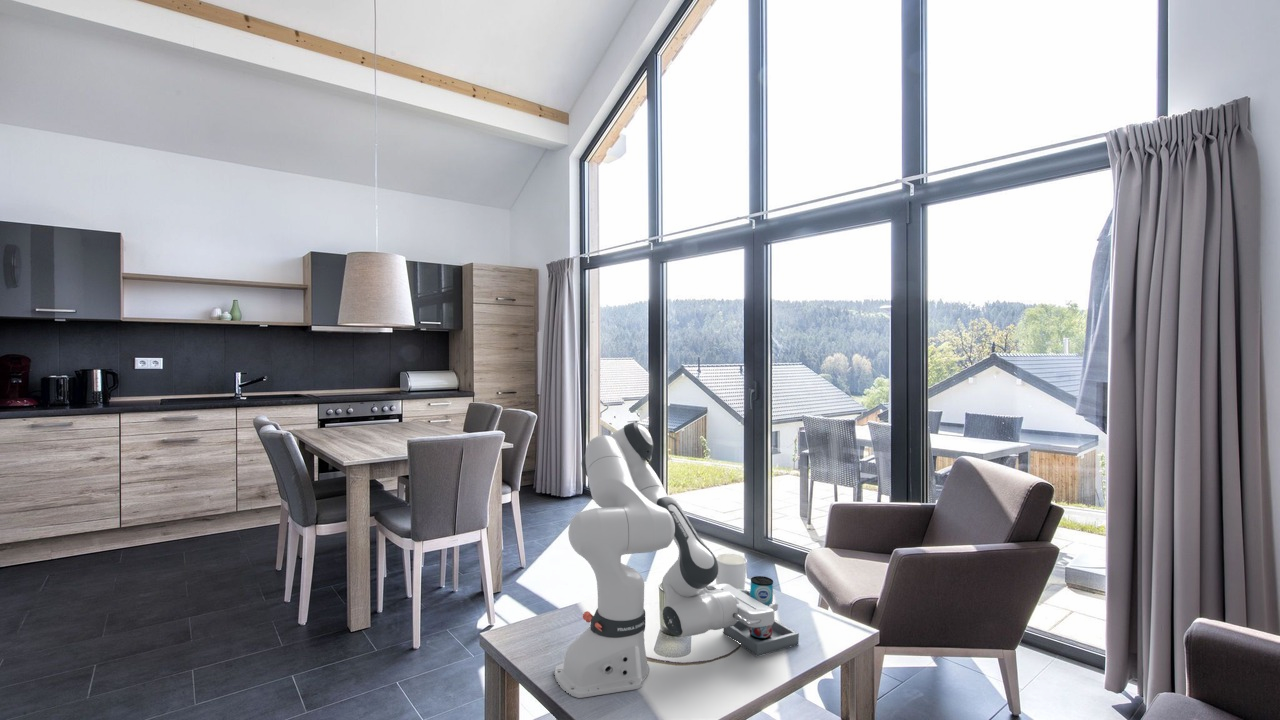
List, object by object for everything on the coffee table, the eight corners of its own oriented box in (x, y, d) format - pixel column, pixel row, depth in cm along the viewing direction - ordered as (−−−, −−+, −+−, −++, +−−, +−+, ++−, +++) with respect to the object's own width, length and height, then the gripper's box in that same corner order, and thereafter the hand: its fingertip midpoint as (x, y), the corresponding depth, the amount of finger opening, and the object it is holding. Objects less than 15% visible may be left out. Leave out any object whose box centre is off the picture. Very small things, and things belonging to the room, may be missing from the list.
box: (757, 656, 154) (757, 644, 154) (723, 633, 166) (723, 622, 166) (798, 644, 161) (798, 633, 161) (763, 623, 173) (763, 612, 173)
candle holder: (752, 599, 189) (753, 561, 189) (728, 605, 184) (729, 566, 184) (731, 588, 198) (732, 551, 197) (707, 594, 192) (709, 556, 192)
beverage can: (750, 640, 161) (752, 583, 161) (747, 629, 167) (749, 575, 167) (773, 641, 161) (775, 584, 161) (769, 631, 167) (771, 576, 166)
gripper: (748, 612, 148) (791, 602, 154) (700, 583, 165) (740, 575, 172) (748, 638, 148) (790, 626, 155) (699, 606, 166) (739, 597, 172)
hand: (763, 599), depth 164 cm, fingers open, 8 cm apart
